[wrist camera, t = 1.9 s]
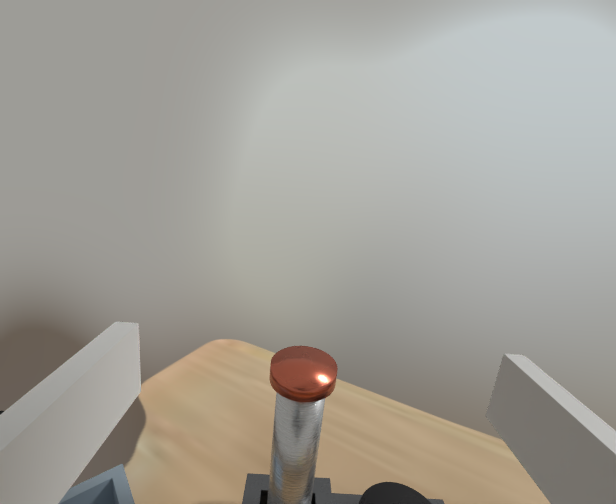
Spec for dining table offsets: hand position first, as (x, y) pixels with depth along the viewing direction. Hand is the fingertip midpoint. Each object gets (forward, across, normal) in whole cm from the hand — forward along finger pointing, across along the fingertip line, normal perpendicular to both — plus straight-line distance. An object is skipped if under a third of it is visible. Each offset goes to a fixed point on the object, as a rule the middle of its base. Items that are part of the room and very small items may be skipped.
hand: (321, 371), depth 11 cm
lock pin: (+10, 0, -26) cm, 28 cm away
